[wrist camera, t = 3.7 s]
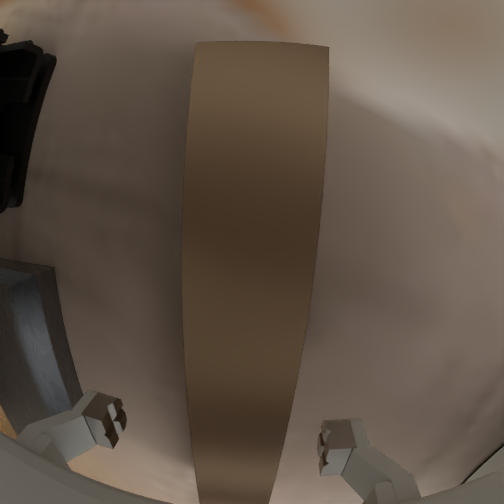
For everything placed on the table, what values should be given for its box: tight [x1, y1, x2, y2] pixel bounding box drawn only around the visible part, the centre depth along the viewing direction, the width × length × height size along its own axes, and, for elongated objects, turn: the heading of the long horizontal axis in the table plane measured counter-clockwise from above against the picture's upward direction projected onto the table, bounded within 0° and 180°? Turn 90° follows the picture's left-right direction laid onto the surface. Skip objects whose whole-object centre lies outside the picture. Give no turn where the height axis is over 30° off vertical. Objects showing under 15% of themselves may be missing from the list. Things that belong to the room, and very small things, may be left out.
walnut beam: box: [182, 41, 329, 504], centre depth 12 cm, size 24×4×5 cm, turn 176°
